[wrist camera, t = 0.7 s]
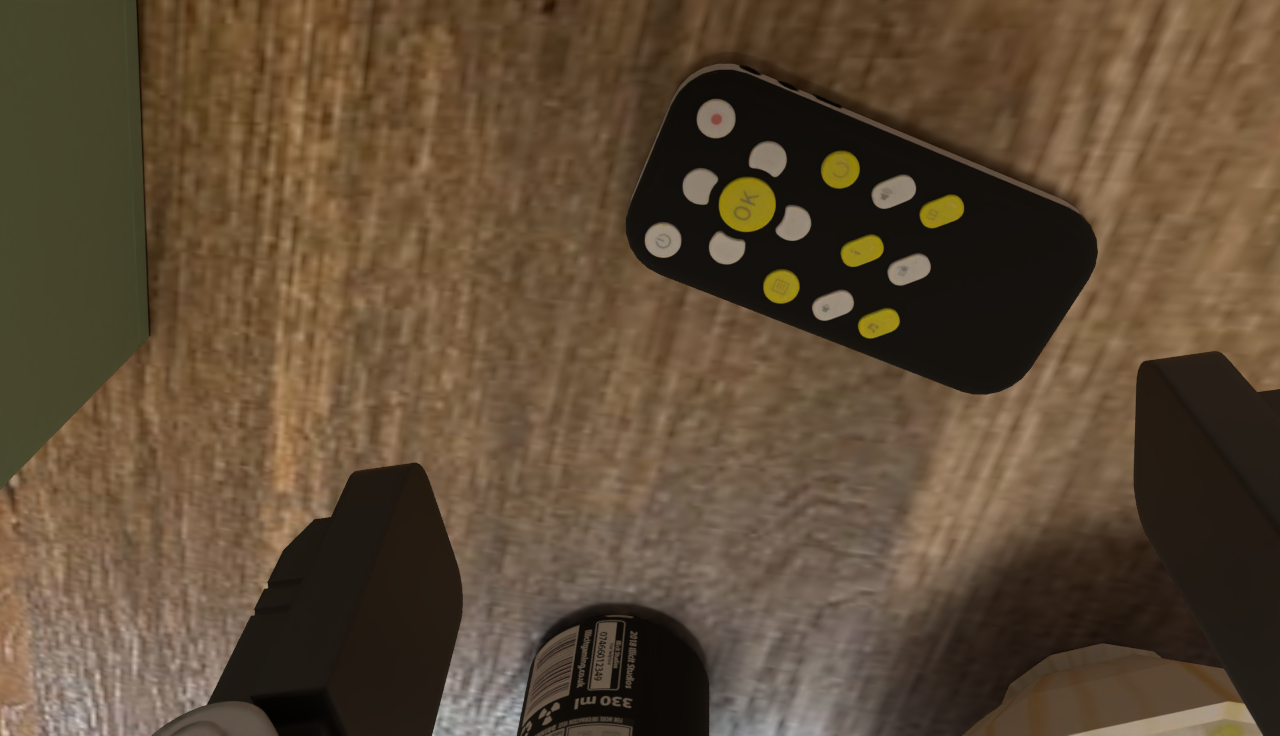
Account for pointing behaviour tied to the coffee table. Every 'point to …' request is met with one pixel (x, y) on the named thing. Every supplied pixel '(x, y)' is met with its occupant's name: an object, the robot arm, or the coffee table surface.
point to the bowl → (1118, 698)
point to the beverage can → (616, 682)
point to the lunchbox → (67, 212)
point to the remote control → (856, 231)
